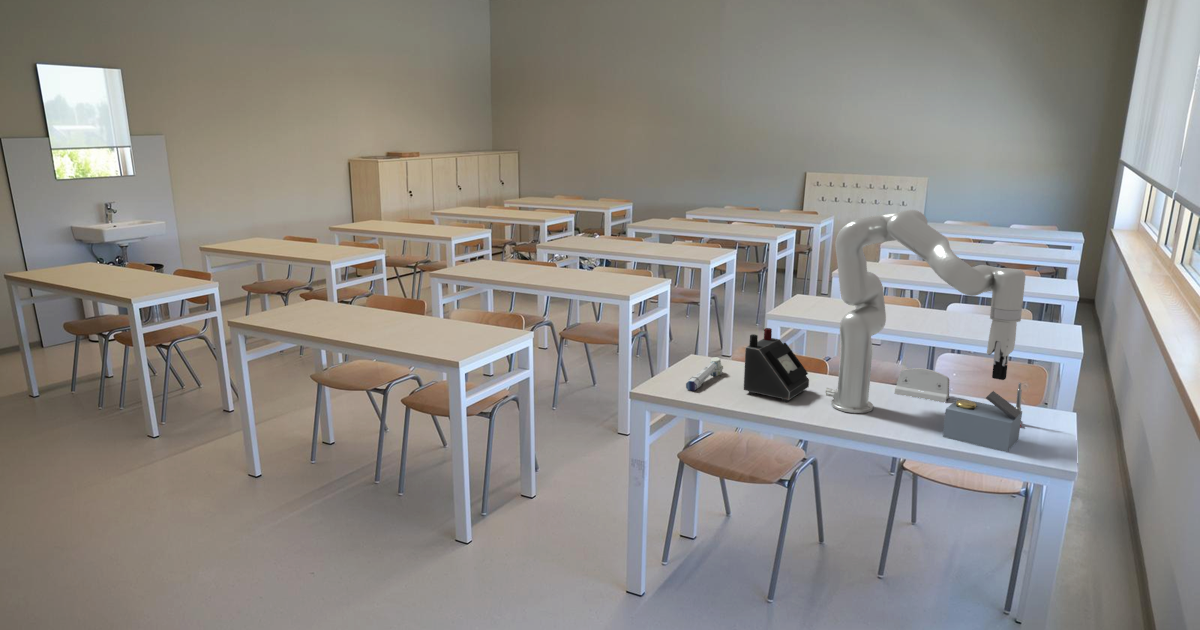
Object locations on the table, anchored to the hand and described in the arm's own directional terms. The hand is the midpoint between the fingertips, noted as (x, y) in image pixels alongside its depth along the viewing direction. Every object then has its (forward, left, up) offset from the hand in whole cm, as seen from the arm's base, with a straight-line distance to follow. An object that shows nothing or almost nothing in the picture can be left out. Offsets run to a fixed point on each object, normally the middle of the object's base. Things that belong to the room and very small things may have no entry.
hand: (998, 378), depth 214 cm
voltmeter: (-66, -2, -19) cm, 69 cm away
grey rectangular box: (-3, 0, -19) cm, 19 cm away
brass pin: (-8, 0, -19) cm, 20 cm away
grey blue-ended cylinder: (-91, -7, -19) cm, 93 cm away
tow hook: (-1, +18, -19) cm, 26 cm away
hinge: (-28, +27, -19) cm, 44 cm away
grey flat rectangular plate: (+2, 0, -8) cm, 8 cm away
